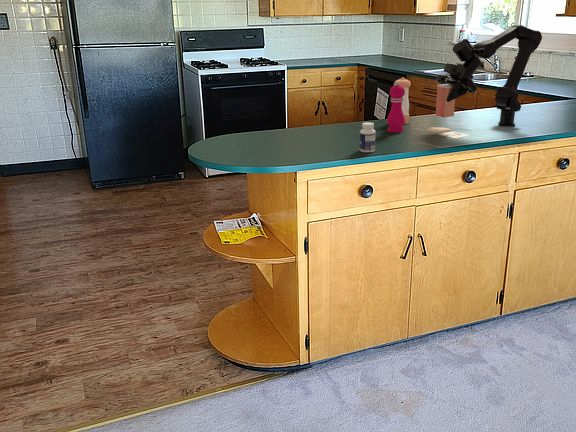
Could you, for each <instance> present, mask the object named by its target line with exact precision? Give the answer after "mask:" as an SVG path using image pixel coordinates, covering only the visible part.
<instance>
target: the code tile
mask: <svg viewBox="0 0 576 432" xmlns="http://www.w3.org/2000/svg"><path fill="white" fill-rule="evenodd" d="M437 135H438V136H439V135H440V136H443V137H448V138H452V139H453V138H454V139H458V138H462V137H468V136H469V134H468V133H464V132H458V131H453V130H452V131H451V132H444V133H437Z"/></svg>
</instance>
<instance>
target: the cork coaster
mask: <svg viewBox="0 0 576 432" xmlns="http://www.w3.org/2000/svg"><path fill="white" fill-rule="evenodd" d="M426 131H428V132H431V133H438V134H442V133H447V132H452V131H453V130H452V129H451V128H447V127H442V126H440V127H438V126H436V127H428V128H426Z"/></svg>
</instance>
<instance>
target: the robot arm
mask: <svg viewBox="0 0 576 432" xmlns="http://www.w3.org/2000/svg"><path fill="white" fill-rule="evenodd" d="M542 35H543V34H542V32H541V31H539V30H534V29H532V28H528V27H526V26H524V25H522V24H513V25H511V26H510V27H509V28H508V29H505V30H504V31H502V32H500V33H499V34H498V35H495V36H494V37H492V38H490V39H487V40H482V41H479V42H477V43H475V44H474V45H472V44H471V43H470V41H469V39H468V38H463V39H462V40H461V41H459V42H457V43H455V44H454V45H453V46H452V49H451V50H452V52H453V53H454V55H455V56H456V58H457V59H458V60H459V61H460V62H462V63H457V64H455V63H448V62H447V63H446V64H445V66H444V69H443V72H444V73H447V74H449V75H445V74H438V75H437V77H436V78H435V80H436V81H437V82H438V83H439V84H453V85H455V88H454V90H453V91H452V93H451V94H450V96H449V97H448V99H447V101H448V102H450V101H452V100H454V99H455V100H456V99H457V98H461V97H462V96H465V95H467V94H468V93H469V94H473V95H474V94H475V93H476V92H477V91H478V86H477V84H476V83H475V81H474V80H473V79H474V74H475V73H476V71H477V70H478V69H482V70H483V69H485V61H484V59H485V60H488V59H490V58H491V57H493V56H494V55H495V54H496V52H497V51H498V49H500V48H501V47H503V46H504V45H506V44H508V43H510V42H511V41H513V40H514V39H516V40H518V41H517V47H518V52H517V54H516V56H515V60H514V62H513V64H512V67H511V70H510V71H509V74H508V76H507V79H506V81H505V83H504V85H503V86H497V87H498V88H497V89H496V93H495V94H494V96H495V97H494V101H495V106H496V110H500V113H499V114H500V115H499V121H497V124H498V126H507V127H508V126H510V127H511V126H512V127H515V126H516V124H515V117H516V115H515V114H516V112H520V111H521V109H522V105H521V103H520V102H519V101H518V97H519V89H518V87H519V84H520V81H521V79H522V77H523V75H524V72H525V70H526V67H527V64H528V62H529V60H530V57H531V55H532V54H533V52H535V51H536V50H537V49H538V47H539V46H540V45H541V43H542V39H543V36H542ZM481 59H483V61H482V60H481ZM449 77H450V78H449Z"/></svg>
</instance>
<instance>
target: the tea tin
mask: <svg viewBox="0 0 576 432" xmlns="http://www.w3.org/2000/svg"><path fill="white" fill-rule="evenodd" d="M454 88H455V85H453V84H440V83H439V84H437V88H436V89H437V90H436V103H435V104H436V105H435V116H436V117H441V118H449V117H451V118H452V117H455V109H456V106H455V105H456V99H454V100H452V101H450V102H448V101H447V99H448V97H449V96H450V94H451V93H452V91H453V90H454Z"/></svg>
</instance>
